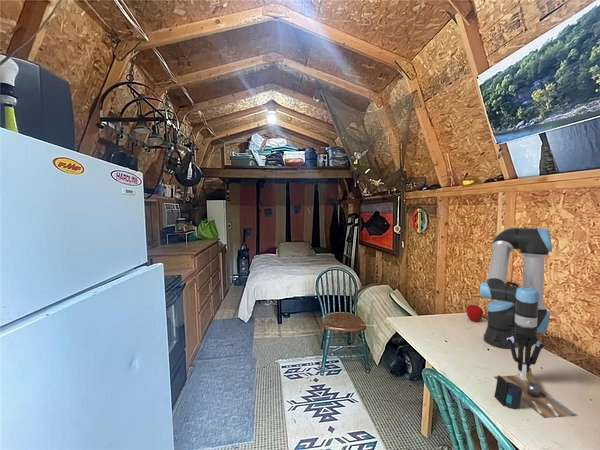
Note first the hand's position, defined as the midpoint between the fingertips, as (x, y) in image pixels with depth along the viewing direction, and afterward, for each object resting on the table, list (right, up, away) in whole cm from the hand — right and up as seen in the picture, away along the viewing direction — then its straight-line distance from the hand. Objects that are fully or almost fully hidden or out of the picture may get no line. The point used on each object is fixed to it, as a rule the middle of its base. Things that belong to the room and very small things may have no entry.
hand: (522, 378), depth 122 cm
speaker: (-15, -4, -12) cm, 20 cm away
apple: (+21, +1, +68) cm, 71 cm away
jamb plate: (-3, -4, -7) cm, 9 cm away
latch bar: (+1, -2, -3) cm, 4 cm away
